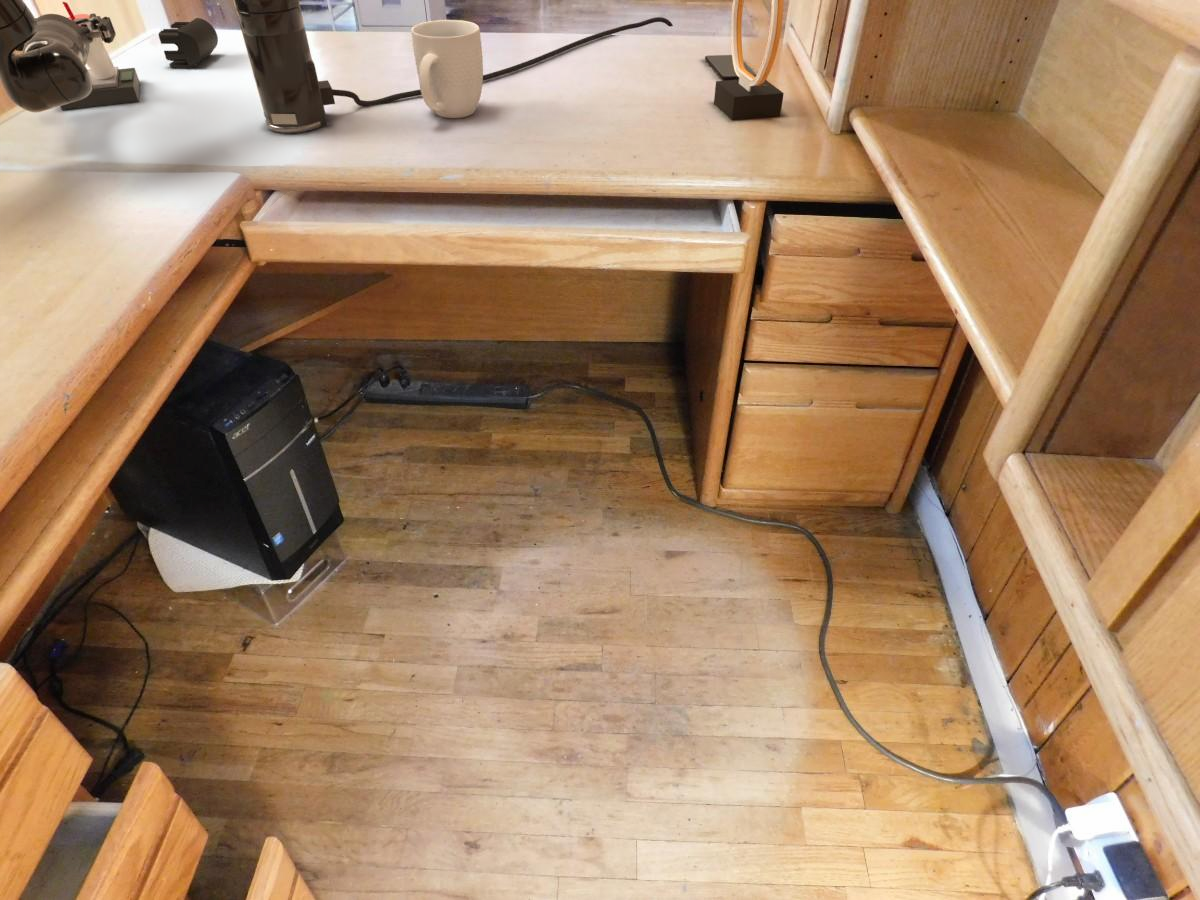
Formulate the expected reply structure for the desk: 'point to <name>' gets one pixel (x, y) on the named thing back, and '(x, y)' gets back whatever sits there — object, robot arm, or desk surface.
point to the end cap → (189, 42)
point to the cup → (96, 53)
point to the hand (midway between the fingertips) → (66, 22)
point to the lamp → (751, 92)
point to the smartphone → (725, 66)
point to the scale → (110, 90)
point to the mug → (449, 66)
